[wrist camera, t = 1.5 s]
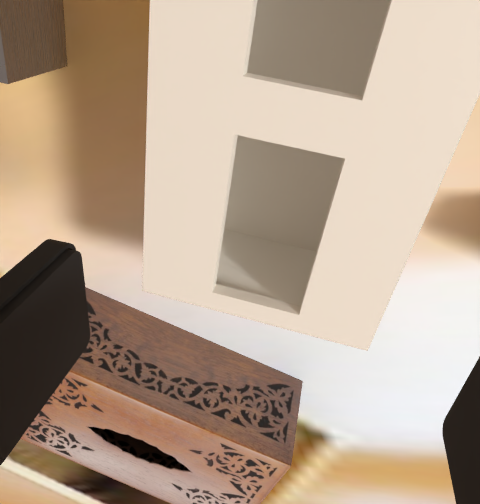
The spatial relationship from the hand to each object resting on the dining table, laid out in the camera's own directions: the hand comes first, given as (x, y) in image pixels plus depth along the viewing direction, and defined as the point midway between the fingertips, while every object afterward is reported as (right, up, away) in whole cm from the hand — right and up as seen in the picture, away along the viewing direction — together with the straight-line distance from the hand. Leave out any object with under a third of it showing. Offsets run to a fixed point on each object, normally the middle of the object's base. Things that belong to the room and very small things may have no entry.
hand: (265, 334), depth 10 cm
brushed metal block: (-15, +19, +23) cm, 33 cm away
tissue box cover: (-8, -12, +40) cm, 43 cm away
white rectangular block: (+4, +14, +20) cm, 25 cm away
